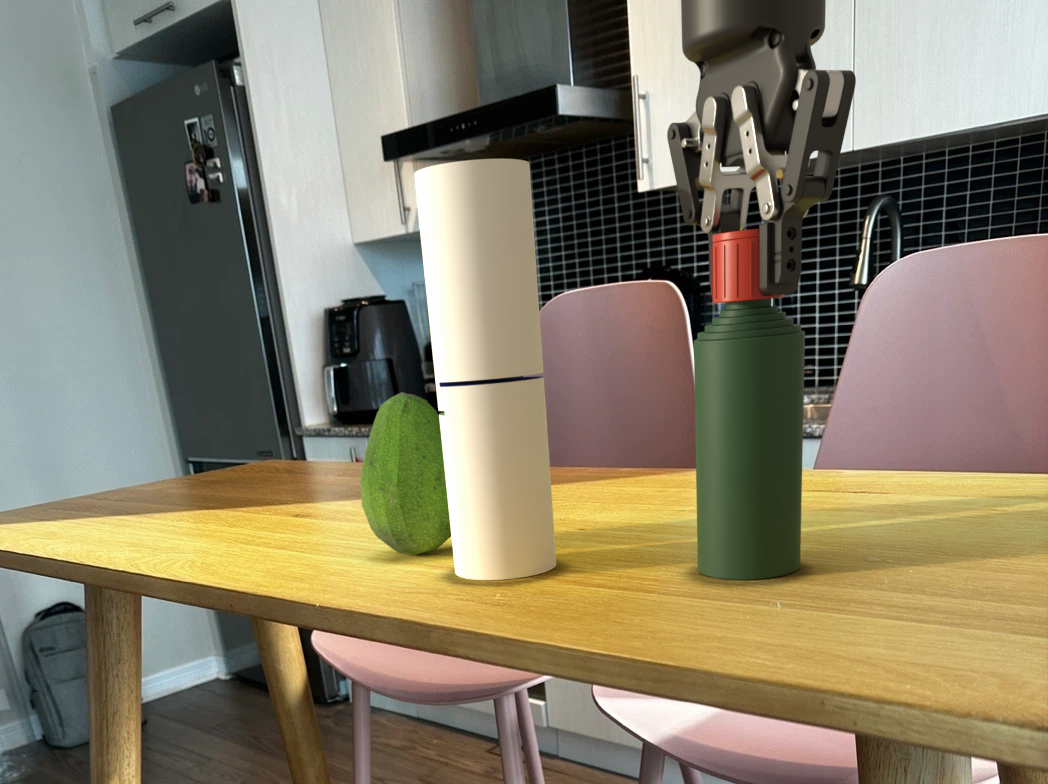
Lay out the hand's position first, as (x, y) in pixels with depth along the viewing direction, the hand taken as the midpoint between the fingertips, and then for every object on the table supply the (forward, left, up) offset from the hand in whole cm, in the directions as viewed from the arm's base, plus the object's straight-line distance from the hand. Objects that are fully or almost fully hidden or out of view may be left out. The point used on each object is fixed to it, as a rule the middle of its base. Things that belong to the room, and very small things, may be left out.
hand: (753, 295), depth 60 cm
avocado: (+15, -22, -16) cm, 31 cm away
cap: (0, 0, 0) cm, 0 cm away
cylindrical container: (+12, -12, -16) cm, 24 cm away
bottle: (0, 0, -16) cm, 16 cm away
